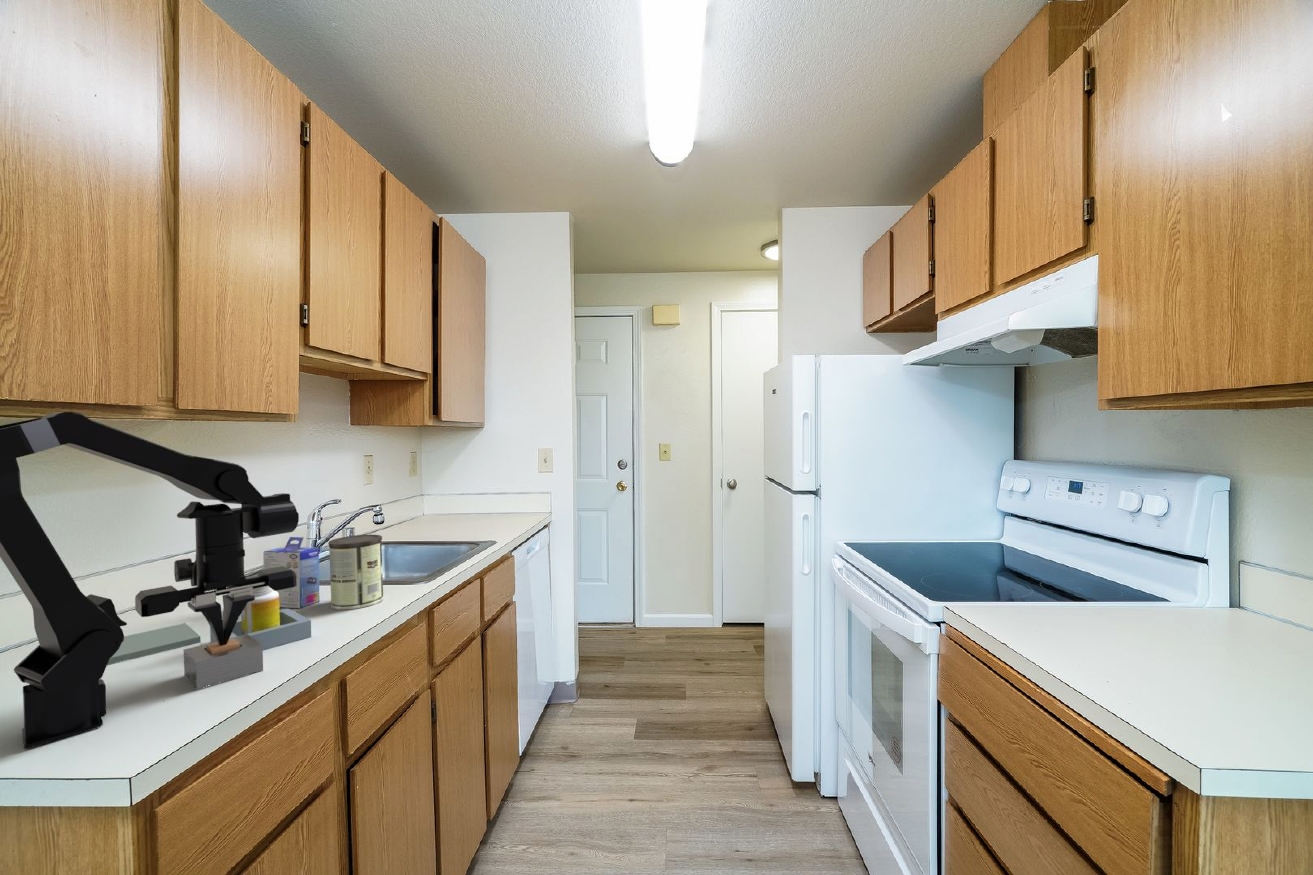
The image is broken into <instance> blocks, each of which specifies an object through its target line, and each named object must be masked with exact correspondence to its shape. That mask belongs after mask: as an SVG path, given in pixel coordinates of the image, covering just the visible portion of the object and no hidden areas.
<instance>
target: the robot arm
mask: <svg viewBox="0 0 1313 875" xmlns="http://www.w3.org/2000/svg"><path fill="white" fill-rule="evenodd" d="M59 446H66V447H70V448H73V449H76V450H79V451H81V452H84V453H87V454H91V455H94V456H96V457H100V458H102V459H105V460H109V461H112V462H114V463H118V464H121V465H124V466H127V467H130V468H133V469H136V470H140V471H142V472H145V473H148V474H151V475H155V476H157V477H160V478H162V479H164V480H166V481H167V482H169V483H170V484H172V485H173V486H175V487H176V488H178V489H180V490H182V491H184V492H185V493H187V494H189V495H191V496H193V497H195V498H197V499H200V500H205V501H206V500H207V501H220V502H221V503H216V504H206V505H205V504H203V503H202V502H200V501H194V500H193V501H190V502H189V503H188V505H187V506H186V507H185V508H183V509H182V510H181V511H179V512H178V513H177V514H176V516H177V518H179V519H187V520H192V519H193V520H195V521H194V522H195V560H194V561H192V558H182V559H176V560H175V561H174V568H173V569H174V570H173V571H174V572H173V574H174V581H175V583H178V582H179V583H180V582H185V581H190V587H189V588H184V589H179V590H178V589H177V588H175V587H174V586H173V585H166V586H161V587H160V586H159V587H155V588H148V589H143V590H140V591H139V592H138V593H137V594H136V595H135V598H134V606H135V612H137V614H138V615H139V616H140V617H141V618H145V617H146V618H147V617H154V616H157V615H162V614H167V613H172V612H174V611H175V610H176V609H177V608H178V607H179V606H180V603H181V604H182V603H186V604H187V607H188V608H189V609H191V610H192V611H193V612H194V613H201V614H202V615H203V617H204V619H206V621H207V624H208V625H209V628H210V627H211V629H212V631H213V633H214V636H215V638H216V640H217V642H218V644H219V645H220V646H222V645H226V644H227V642H228V640H229V638H230V636H231V633H232V631H233V629H234V627H235V624H236V622H237V620H239V619H240V617H241V613H242V611H243V610H244V608H245V606H246V605H247V603H248V602H250V601H254V600H255V597H254V596H253V595H252V591H253V589H255V588H260V587H265V586H269V587H270V588H272V589H273V590H275V591H277V590H282V589H287V588H292V587H295V586H297V581H296V574H295V572H294V571H293V570H291V569H288V568H286V567H283V566H281V567H275V568H269V569H263V568H262V569H259V570H258V572H257V575H255V576H251V577H250V576H249V577H246V575H245V556H246V550H245V548H244V547H245V546H244V545H245V544H244V534H247V535H248V536H249V537H250V538H252V539H259V538H265V537H270V536H271V537H272V536H277V535H282V534H290V533H292V532H294V531H296V529H297V527H298V524H299V520H300V517H299V516H300V515H299V512H298V510H297V508H296V505H295V504H294V502H293V501H292V500H291V494H290V493H284V492H283V493H281V492H280V493H275V494H272V495H264V496H263V495H262V494H261V493H260V491H259V490H258V489H257V488H256V487H255V486H254V485H253V484H252V482H250V481H249V476H248V473H247V470H246V469H245V467H243V466H241V465H239V464H237V463H233V462H229V461H225V460H218V459H214V458H207V457H202V456H196V455H191V454H186V453H182V452H180V451H177V450H175V449H171V448H169V447H166V446H164V445H161V444H158V443H156V442H152V441H150V440H147V439H144V438H141V437H139V436H137V435H134V434H131V433H128V432H125V431H123V430H120V429H117V428H115V427H112V426H109V425H106V424H104V423H102V422H99V421H96V420H93V419H91V418H89V417H87V416H86V415H84V414H82V413H79V412H75V411H60V412H59V411H58V412H51V413H48V414H45V415H44V416H40V417H35V418H31V419H26V420H21V421H17V422H16V421H15V422H11V423H5V424H1V425H0V559H1V561H2V562H3V564H4V566H5V567H6V568H7V570H8V571H9V573H10V574H11V576H12V578H13V579H14V581H15V583H16V584H17V586H19V588H20V590H21V591H22V593H23V595H24V596H25V597H26V599H27V601H28V602H29V604H30V605H31V608H32V611H33V612H32V613H33V614H32V615H33V625H34V627H33V628H34V631H35V634H36V638H37V641H38V644H39V645H37V647H35V648H34V649H33V650H32V651H31V652H30V653H29V654H28V655H27V656H26V657H24V659H22V660H21V661H20V662H19V663H18V664H17V665H16V666H15V667H14V668H13V671H14V673H15V674H16V676H17V678H18V679H19V681H20V682H21V683H26V684H27V685H23V686H22V700H23V701H22V702H23V704H22V706H23V711H22V712H23V728H21V729H22V730H21V732H22V733H21V734H22V735H21V736H22V743H23V749H25V750H26V749H31V748H35V747H37V746H40V745H44V744H47V743H50V742H53V741H57V740H60V739H64V738H66V737H70V736H73V735H76V734H80V733H83V732H86V731H90V730H93V729H96V728H99V727H101V726H103V725H104V720H103V717H105V716H106V715H107V692H106V691H107V690H106V689H107V688H106V685H107V684H106V683H105V681H104V679H102V678H103V675H104V673H105V671H106V668H107V666H108V665H107V664H108V661H109V659H110V658H111V657H112V656H113V655H114V654H115V653H116V652H117V651H118V649H119V647H120V645H121V643H122V642H123V641H124V636H125V635H124V631H123V629H122V628H121V627H125V626H127V625H128V623H127V622H126V621H124V620H122V619H121V618H120V617H119V616H118V614H117V611H116V606H115V604H114V603H113V600H112V599H111V598H109V597H108V598H107V597H103V596H100V595H95V594H88V595H85V594H84V593H83V592H82V591H81V589H80V588H79V587H78V584H77V583H76V581H75V580H74V578H73V576H72V575H71V573H70V571H69V570H68V568H67V567H66V565H65V563H64V561H63V560H62V558H61V557H60V555H59V554H58V552H57V550H56V548H55V547H54V545H53V544H52V542H51V540H50V538H49V536H47V533H46V532H45V530H44V529H43V527H42V525H41V524H40V522H39V520H38V519H37V517H36V516H35V514H34V512H33V511H32V509H31V507H30V506H29V504H28V502H27V500H26V499H25V497H24V496H23V493H22V482H21V473H20V472H21V470H20V467H19V464H18V460H17V459H18V458H21V457H25V456H30V455H34V454H36V453H41V452H43V451H46V450H50V449H53V448H57V447H59ZM228 504H235V505H236V504H237V505H241V507H235V508H234V507H233V508H231V507H230V506H229V505H228ZM218 596H221V597H222V604H223V605H222V604H221V603H219V602H217V601H216V600H217V597H218ZM222 606H223V611H222Z"/></svg>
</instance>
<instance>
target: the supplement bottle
mask: <svg viewBox="0 0 1313 875" xmlns="http://www.w3.org/2000/svg"><path fill="white" fill-rule="evenodd" d="M252 595H253V596H254V597H255V600H254V601H250V602H248V603H247V605H246V606H245V608H244V610H243V611H242V613H241V615H240V617H241V618H240V619H241V623H242V635H245V634H249V633H253V632H257V631H261V630H265V629H269V628H273V627H277V626H280V614H279V610H280V607H279V593H278V592H277V591H273V589H272V588H270V587H269V586H265V587H260V588H255V589H253V591H252Z"/></svg>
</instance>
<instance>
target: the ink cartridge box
mask: <svg viewBox="0 0 1313 875" xmlns="http://www.w3.org/2000/svg"><path fill="white" fill-rule="evenodd" d="M303 540H304V537H303V536H302V537H301V536H300V537H299V536H289V538H288V540H287V542H286V544H285V546H284V547H277V548H272V549H268V550H264V551H263V556H262V557H263V558H262V559H263V566H262V567H263V568H262V570H263V569H269V568H275V567H281V566H283V567H286V568H288V569H291V570H293V571H294V572H295V574H296V581H297V586H295V587H292V588H287V589H282V590H277V592H278V593H279V608H286V609H287V608H288V609H290V608H291V609H292V608H293V609H301V608H304V607H307V606H310V605H314V604H317V603H320V548H319V547H317V546H316V547H311V546H310V547H309V546H307V547H306V546H305V547H304V546H302V543H303ZM293 541H294V542H295V541H297V542H298V543H291V542H293ZM301 546H302V547H301ZM273 591H275V590H273Z"/></svg>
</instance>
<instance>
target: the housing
mask: <svg viewBox="0 0 1313 875" xmlns="http://www.w3.org/2000/svg"><path fill="white" fill-rule="evenodd" d="M279 614H280V626H277V627H273V628H269V629H265V630H261V631H257V632H253V633H249V634H248V635H249V636H251V637H252V638H254V639H255V640H256V641H258V642H259V643H261V644H262V645H263V651H264V650H267V649H268V650H269V649H271V648H274V647H275V646H276V647H280V646H282V645H286V644H290V643H294V642H298V641H300V640H305V639H309V638H312V620H311V619H309V618H307V617H305V616H304V615H301V614H300V613H297V612H296V611H294V610H292V609H290V608H287V607H286V608H283V609H279ZM209 633H210V634H209V637H210V640H209V641H210V643H212V642H217V640H216V638H215V636H214V633H213V631H212V629H211V627H210V626H209ZM241 635H242V623H241V618H238V620H237V622H236V624H235V627H234V629H233V631H232V633H231V636H230V638H233V637H237V636H241Z"/></svg>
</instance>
